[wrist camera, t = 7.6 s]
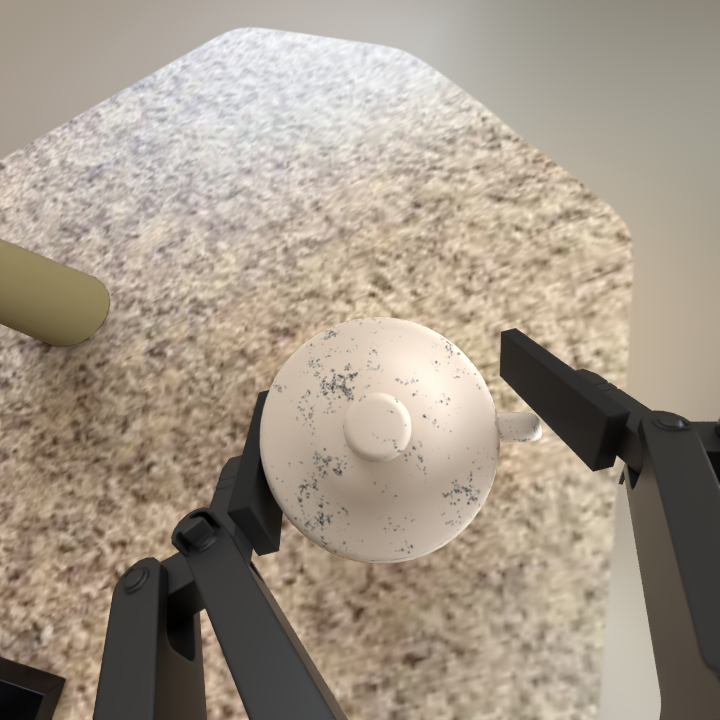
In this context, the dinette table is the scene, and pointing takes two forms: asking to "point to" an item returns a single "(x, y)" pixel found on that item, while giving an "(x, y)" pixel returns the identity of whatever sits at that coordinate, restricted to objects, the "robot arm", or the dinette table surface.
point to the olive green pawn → (49, 298)
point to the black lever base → (27, 692)
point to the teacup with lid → (383, 440)
